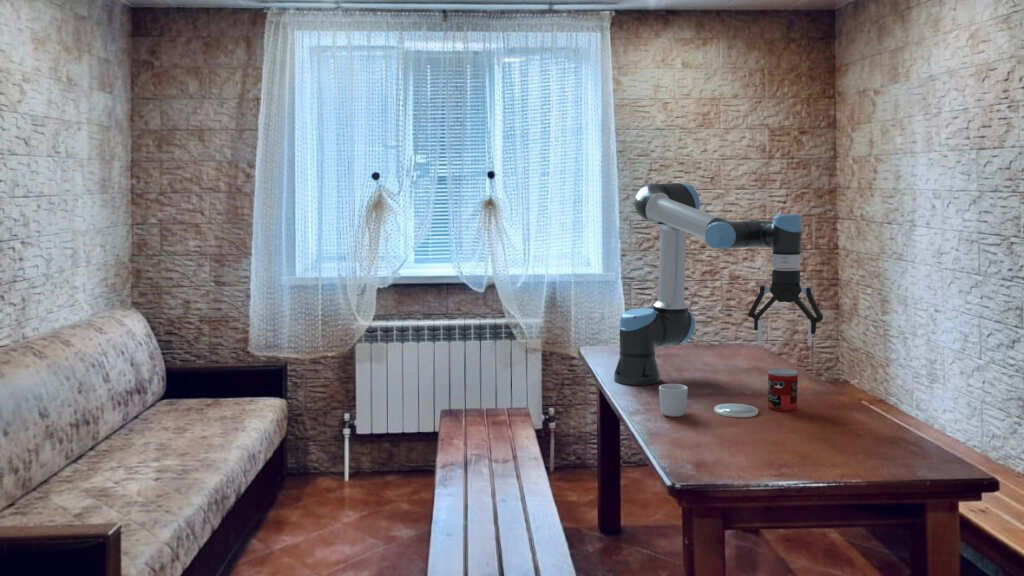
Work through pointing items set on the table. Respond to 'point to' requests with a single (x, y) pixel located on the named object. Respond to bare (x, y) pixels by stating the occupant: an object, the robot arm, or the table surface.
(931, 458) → the table surface
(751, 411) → the plate
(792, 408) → the canned food
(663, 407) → the cup
